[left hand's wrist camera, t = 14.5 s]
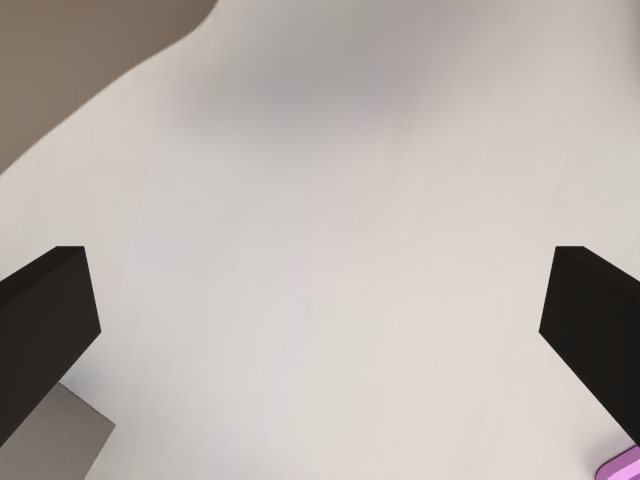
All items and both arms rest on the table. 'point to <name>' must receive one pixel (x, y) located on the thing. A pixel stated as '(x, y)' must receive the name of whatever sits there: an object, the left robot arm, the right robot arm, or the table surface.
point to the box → (55, 440)
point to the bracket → (622, 467)
